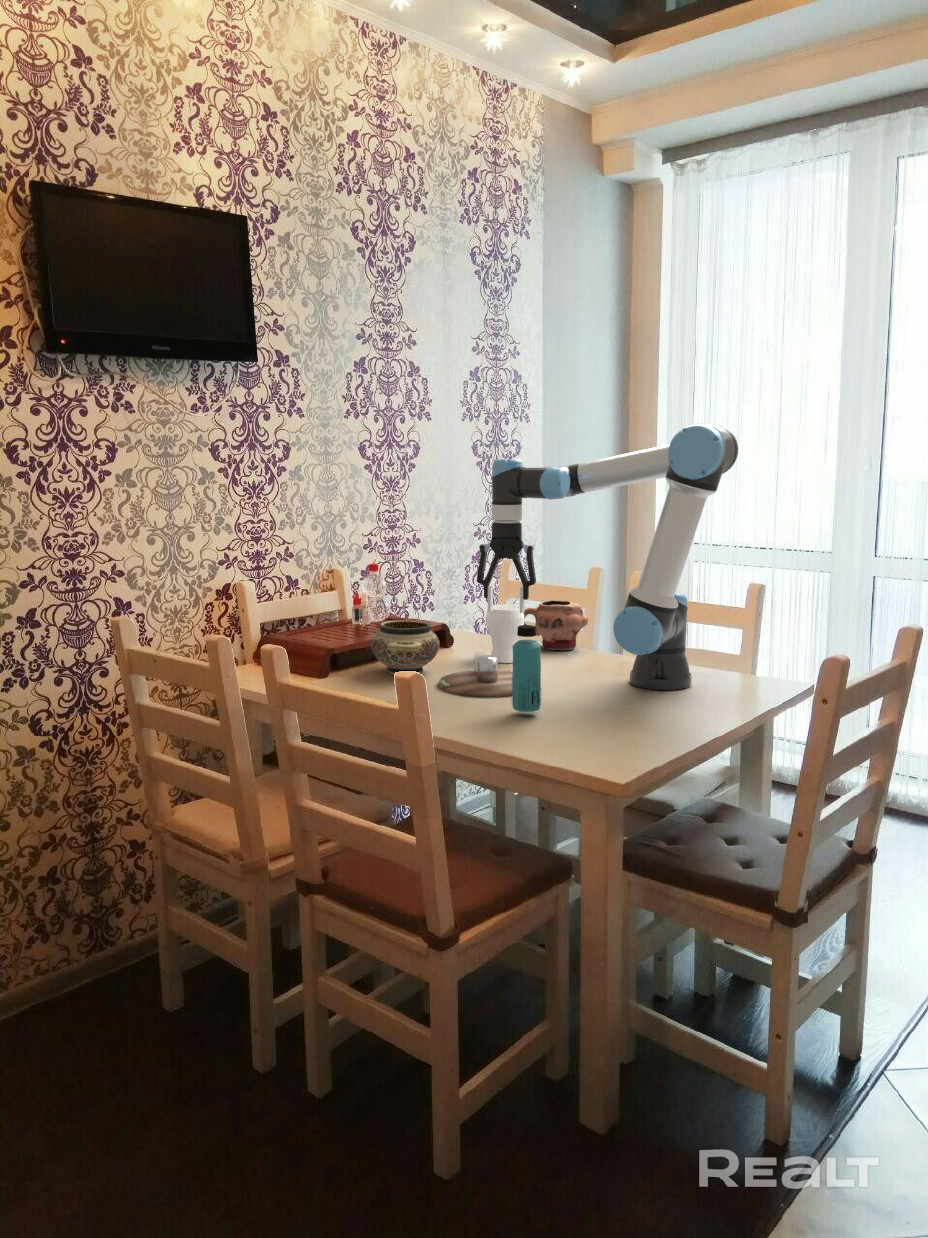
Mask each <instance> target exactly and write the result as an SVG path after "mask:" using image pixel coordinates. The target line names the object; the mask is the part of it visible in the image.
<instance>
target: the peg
mask: <svg viewBox="0 0 928 1238" xmlns="http://www.w3.org/2000/svg"><path fill="white" fill-rule="evenodd" d="M473 656H474V657H473V663H474V665H473V668H474V669H473V670H474V671H475V672H476V673H477V680H478V681H479V682H485V683H490V682H496V681H497V678H498V670H499V669H498V665H499V663H498V657H497V656H492V655H491V654H490V655H489V654H488V655H487V653H485V652H484V651H474V653H473Z"/></svg>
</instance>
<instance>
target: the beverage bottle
mask: <svg viewBox="0 0 928 1238" xmlns="http://www.w3.org/2000/svg"><path fill="white" fill-rule="evenodd" d="M517 635H518V636H519V637H520V638H521V637H522V638H532V637H536V636H537V635H536V627H535V625H531V624H526V625H521V626H518V632H517ZM512 648H513V663H512V672H513V673H512V674H513V675H512V696H511V704H512V705H511V706H512V709H513V710H514V711H517V712H523V713H531V712H532V713H533V712H538V711H539V710H540V709H541V706H542V705H541V704H542V703H541V701H542V687H541V686H542V684H541V683H542V679H541V676H542V675H541V672H542V660H541V650H542V649H541V648H542V647H541V644H540V643H539V642H538V641H537V640H534V639H518V641H517V642H516V643H515V644H514V645H513V646H512Z"/></svg>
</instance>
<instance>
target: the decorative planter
mask: <svg viewBox="0 0 928 1238" xmlns="http://www.w3.org/2000/svg"><path fill="white" fill-rule="evenodd" d="M523 613H524V625H527V623H526V622H525V619H526V617H527V616H528V615H533V616H534V619H535V625H534V626H535V627H536V636H537V637H539V636H541V637H542V641H541V643H542V647H543V649H546V650H550V649H551V650H552V651H558V650H559V651H567V650H568V651H569V650H574V649H575V648H576V647H577V635H578V634H579V632H580V631H581V630H583V628H584V627H586V626H587V625H588V623H589V618H588V616H587V615H585V614H584V611H583V608H582V606H581V604H579V603H576V602H573V601H569V600H568V601H567V600H544V601H542V602H539V604H538V607H527V608H525V611H524V612H523Z"/></svg>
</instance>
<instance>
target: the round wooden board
mask: <svg viewBox="0 0 928 1238" xmlns="http://www.w3.org/2000/svg"><path fill="white" fill-rule="evenodd" d="M512 673H513V671H512V670H511V671H510V670H501V669H498V678H497V681H496V682H490V683H485V682H479V681H478V680H477V673H476V672H475V671H474V669H473V670H462V671H457V672H452V673H449V674H446V675H443V676H442V677H441V678H440V679H439V682H438V684H439V688H440V689H441V690H443V691H444V692H448V693H450V694H453V695H459V696H463V697H474V698H502V697H503V698H505V697H512V675H513V674H512Z"/></svg>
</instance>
